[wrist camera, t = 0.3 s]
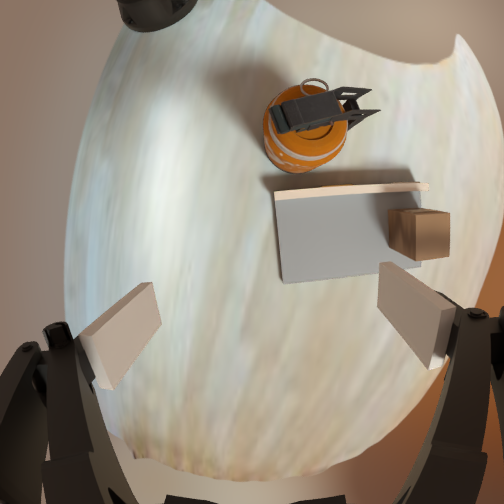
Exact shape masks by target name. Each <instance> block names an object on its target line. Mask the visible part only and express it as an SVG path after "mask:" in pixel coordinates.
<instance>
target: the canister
mask: <svg viewBox="0 0 504 504" xmlns="http://www.w3.org/2000/svg"><path fill="white" fill-rule="evenodd" d="M309 81H319V82H321V83H323V84H324V85H325V86H326V88H327V90H325V89H323V88H320V87H318V86H314V85H304V84H305V83H306V82H309ZM328 89H329V87H328V85H327V83H326V82H324V81H323V80H320V79H316V78H310V79H306V80H304V81H303V82H302V83H301V85H296V86H293V87H290V88H288V89H286V90H284V91H283V92H281V93H280V94H279V95H278V96H277V97H275V98H274V99H273V100H272V101H271V103H270V104H269V106H268V107H267V109H266V112H265V115H264V119H263V130H264V142H265V150H266V154H267V156H268V158H269V159H270V161H271V162H272V163H273V164H274V165H275V166H276V167H277V168H279V169H280V170H282V171H284V172H287V173H292V174H301V173H305V172H308V171H310V170H312V169H314V168H316V167H318V166H320V165H323V164H325V163H327V162H328V161H330V160H332V159H333V158H334V157H335V156H336V155H337V154H338V153H339V152H340V151H341V149H342V147H343V146H344V143H345V140H346V135H347V131H348V130H350V129H351V128H352V127H354V126H355V125H356V124H358V123H360V122H361V121H362V120H363V119H365V118H366V117H368V116H370V115H372V114H374V113H377V112H379V111H381V110H360V109H359V106H358V104H357V101H356V100H357V99H358V98H359V97H361V96H362V95H364V94H366V93H368V92H370V91H371V90H372V89H365V88H354V87H340V88H337V89H335V90H332V91H328ZM343 92H346V93H357V94H355V95H341V94H342V93H343ZM339 100H347V101H346V102H345V103H344V104H343V105H342V104H341V103H340V101H339ZM362 114H364V115H362Z"/></svg>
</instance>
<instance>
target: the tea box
mask: <svg viewBox="0 0 504 504" xmlns="http://www.w3.org/2000/svg"><path fill="white" fill-rule="evenodd" d="M388 225H389V248H391V249H393V250H395V251H397V252H399V253H401V254H402V255H404V256H406V257H408V258H410V259H412V260H414V261H423V260H430V259H437V258H443V257H449V251H450V213H447V212H442V211H437V210H431V209H424V208H405V209H390V210H388Z"/></svg>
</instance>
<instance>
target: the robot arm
mask: <svg viewBox="0 0 504 504" xmlns="http://www.w3.org/2000/svg"><path fill="white" fill-rule="evenodd" d="M117 2H118V5H119V10H120V14H121V18H122V20H123V22H124V23H125V24H126V25H127V26H128V27H129V28H130V29H132V30H134V31H137V32H152V31H157V30H160V29H163V28H166V27H168V26H170V25H172V24H174V23H176V22H178V21H179V20H181V19H182V18H183V17H185V16H186V15H187V14H188V13H189V12H190V11H191V10H192V9H193V8H194V6H195V4H196V3H197V0H117ZM377 307H378V308H379V310H380V311H381V312H382V313H383V314H384V316H385V317H386V318H387V319H388V320H389V322H390V323H391V324H392V325H393V326H394V328H395V329H396V330H397V331H398V333H399V334H400V335H401V336H402V338H403V339H404V340H405V341H406V343H407V344H408V345H409V346H410V348H411V349H412V350H413V351H414V353H415V354H416V355H417V357H418V358H419V359H420V360H421V362H422V363H423V364H424V366H425V367H426V368H427V370H432V369H435V368H438V367H441V366H443V363H444V359H445V355H446V354H447V355H448V356H449V358H450V362H449V366H448V369H447V372H446V375H445V378H444V380H445V381H444V385H443V389H442V393H441V395H440V399H439V402H438V405H437V408H436V411H435V414H434V417H433V420H432V423H431V426H430V428H429V431H428V433H427V436H426V438H425V441H424V443H423V446H422V448H421V451H420V453H419V455H418V457H417V459H416V462H415V464H414V466H413V468H412V470H411V472H410V474H409V476H408V478H407V480H406V482H405V484H404V486H403V487H402V489H401V491H400V493H399V494H398V496H397V498H396V499H395V501H394V502H393V504H475V503H476V500H477V497H478V494H479V490H480V487H481V484H482V480H483V476H484V472H485V468H486V464H487V457H488V456H487V453H485V452H481V450H482V444H483V438H484V433H485V428H486V421H487V414H488V404H489V394H490V381H491V385H492V389H493V392H494V397H495V402H496V407H497V412H498V418H499V424H500V430H501V438H502V446H503V458H504V306H503V307H502V308H501V310H500V315H499V317H493V318H489V315H488V313H487V312H485V311H484V310H481V309H478V308H467V309H463V308H462V307H461V306H459V305H458V304H456V303H455V302H454V301H452V300H451V299H450V298H448V297H447V296H445V295H444V294H442V293H440V292H437V291H435V290H432V289H431V288H430V287H428V286H427V285H425V284H424V283H422V282H421V281H419V280H418V279H417V278H415V277H414V276H412V275H411V274H409V273H408V272H406V271H405V270H403V269H402V268H400V267H399V266H397V265H396V264H394V263H393V262H391V261H389V262H380V263H379V284H378V303H377ZM161 325H162V322H161V318H160V314H159V310H158V306H157V301H156V297H155V292H154V288H153V283H152V282H146V283H140V284H139V285H138V286H137V287H135V288H134V289H133V290H132V291H130V292H129V293H128V294H127V295H125V296H124V297H123V298H122V299H120V300H119V301H118V302H117V303H116V304H114V305H113V306H112V307H111V308H109V309H108V310H107V311H106V312H105V313H103V314H102V315H101V316H100V317H99V318H97V319H96V320H95V321H94V322H93V323H92V324H90V325H89V326H88V327H87V328H86V329H84V330H83V331H82V332H81V333H80V334H79V335H78V336H77V337H76V338H75V339H73V337H72V335H71V332H70V329H69V326H68V324H67V322H56V323H53V324H50V325H48V326H46V327H45V328H44V329H43V331H42V332H43V334H44V337H45V340H46V343H47V345H48V347H49V351H41V349H40V347H39V344H38V343H37V342H35V341H33V342H26V343H23V344H22V345H21V346H20V347H19V348H18V349H17V350H16V352H15V354H14V355H13V357H12V358H11V360H10V361H9V363H8V364H7V366H6V368H5V369H4V371H3V373H2V374H1V376H0V504H41V493H42V482H43V487H44V493H45V498H46V504H139V503H138V502H137V500H136V498H135V497H134V495H133V493H132V491H131V488H130V487H129V484H128V482H127V480H126V478H125V476H124V473H123V471H122V469H121V466H120V464H119V462H118V459H117V457H116V454H115V452H114V449H113V446H112V444H111V441H110V438H109V435H108V433H107V429H106V426H105V423H104V420H103V417H102V414H101V410H100V407H99V403H98V400H97V396H96V392H95V389H94V387H93V385H92V381H93V380H94V379H95V377H96V380H97V382H98V384H99V386H100V388H103V389H109V390H114V389H115V388H116V386H117V385H118V384H119V382H120V381H121V379H122V378H123V377H124V375H125V374H126V372H127V371H128V370H129V368H130V367H131V365H132V364H133V363H134V361H135V360H136V358H137V357H138V356H139V354H140V353H141V352H142V350H143V349H144V348H145V346H146V345H147V343H148V342H149V341H150V339H151V338H152V337H153V335H154V334H155V333H156V331H157V330H158V329H159V327H160V326H161ZM48 441H49V450H50V459H51V460H49V461H45V458H46V451H47V446H48ZM164 504H217V503H214V502H210V501H207V500H198V499H191V498H184V497H177V496H172V495H166V499H165V502H164ZM291 504H346V499H345V495H340V496H334V497H328V498H321V499H313V500H304V501H298V502H295V503H291Z"/></svg>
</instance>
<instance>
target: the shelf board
mask: <svg viewBox="0 0 504 504" xmlns="http://www.w3.org/2000/svg"><path fill="white" fill-rule="evenodd" d="M420 191H429V185H428V183H420V182H392V184H370V185H353V184H345V185H329V186H321V188H309V189H297V190H286V191H276V192H274V200H275V209H276V218H277V228H278V237H279V247H280V258H281V268H282V279H283V284H292V283H301V282H310V281H319V280H328V279H336V278H345V277H353V276H360V275H368V274H376V273H379V263H380V262H389V261H391V262H393V263H394V264H396V265H397V266H399V267H400V268H402V269H403V270H404V269H411V268H417V267H421V261H414V260H412V259H410V258H408V257H406V256H404V255H402V254H401V253H399V252H397V251H395V250H393V249H391V248H389V225H388V210H390V209H405V208H421V195H420Z"/></svg>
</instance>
